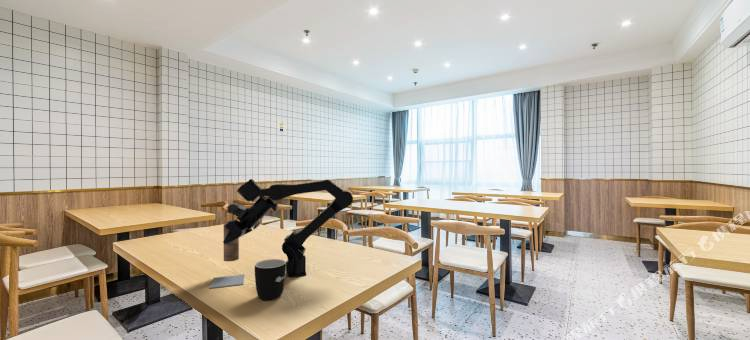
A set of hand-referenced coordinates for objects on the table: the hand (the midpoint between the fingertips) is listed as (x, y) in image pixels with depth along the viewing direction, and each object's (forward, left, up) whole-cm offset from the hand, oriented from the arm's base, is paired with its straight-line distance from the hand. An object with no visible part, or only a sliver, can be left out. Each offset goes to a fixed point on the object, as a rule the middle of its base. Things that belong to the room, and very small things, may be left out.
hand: (227, 241), depth 112 cm
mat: (-1, +7, -12) cm, 14 cm away
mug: (-15, +24, -13) cm, 31 cm away
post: (-1, 0, -7) cm, 7 cm away
